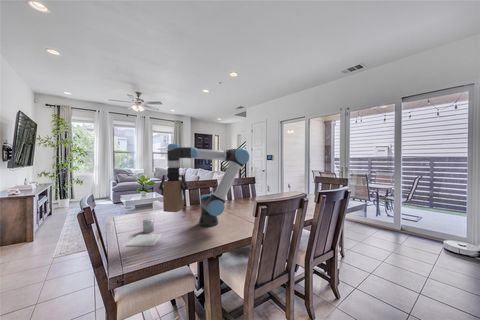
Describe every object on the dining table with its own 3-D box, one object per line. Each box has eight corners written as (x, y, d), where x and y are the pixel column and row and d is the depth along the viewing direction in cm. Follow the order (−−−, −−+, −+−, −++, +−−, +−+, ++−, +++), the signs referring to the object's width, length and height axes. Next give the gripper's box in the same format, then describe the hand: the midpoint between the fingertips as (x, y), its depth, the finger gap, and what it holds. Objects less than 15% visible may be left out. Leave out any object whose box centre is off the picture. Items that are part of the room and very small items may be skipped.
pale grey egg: (155, 229, 148) (155, 218, 148) (151, 233, 141) (151, 221, 141) (145, 229, 148) (145, 218, 147) (141, 233, 141) (141, 221, 140)
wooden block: (176, 212, 130) (176, 181, 130) (162, 212, 132) (162, 181, 132) (184, 208, 140) (183, 179, 140) (170, 208, 142) (170, 179, 142)
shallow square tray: (162, 235, 137) (162, 233, 137) (154, 245, 121) (154, 244, 121) (137, 235, 136) (137, 234, 136) (126, 246, 120) (126, 244, 120)
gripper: (192, 166, 140) (192, 198, 141) (157, 167, 139) (157, 198, 139) (190, 167, 133) (190, 200, 133) (153, 167, 131) (153, 201, 132)
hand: (173, 199), depth 136 cm, fingers closed on wooden block, 11 cm apart
